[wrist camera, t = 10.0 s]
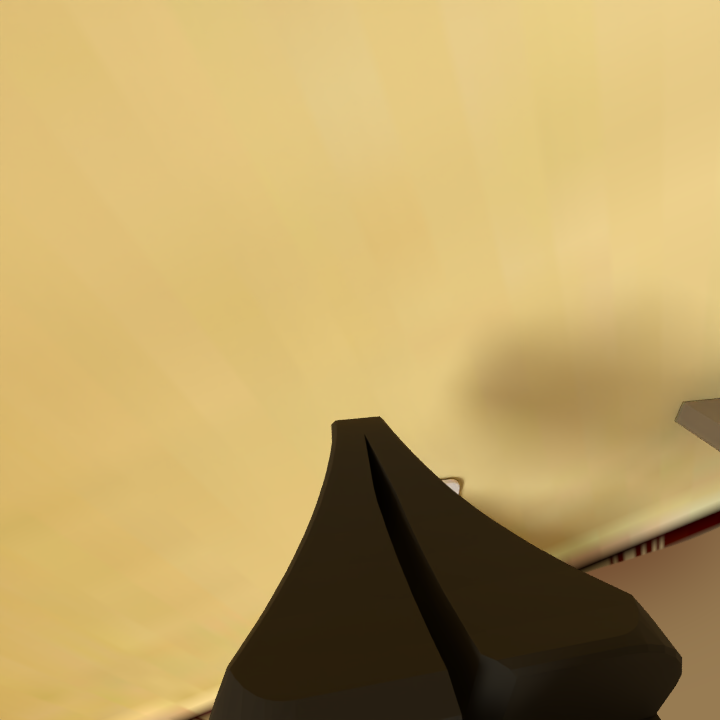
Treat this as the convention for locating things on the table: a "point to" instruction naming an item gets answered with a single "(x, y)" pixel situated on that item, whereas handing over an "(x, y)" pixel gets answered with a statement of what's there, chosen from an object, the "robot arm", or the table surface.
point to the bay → (702, 420)
